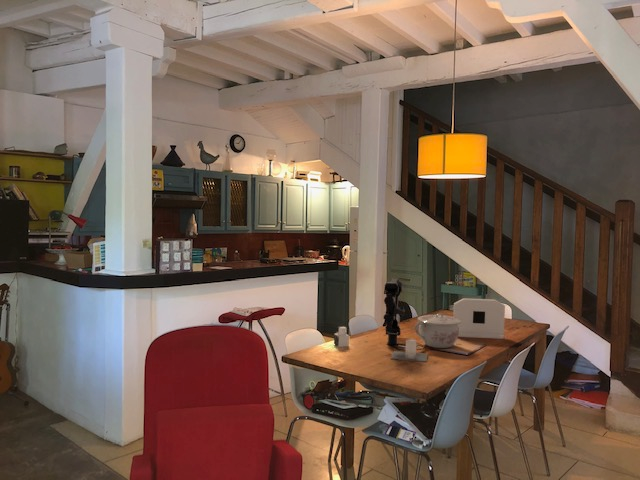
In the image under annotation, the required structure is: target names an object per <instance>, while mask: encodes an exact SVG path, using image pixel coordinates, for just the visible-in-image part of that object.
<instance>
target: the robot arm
mask: <svg viewBox="0 0 640 480" xmlns="http://www.w3.org/2000/svg"><path fill="white" fill-rule="evenodd" d="M403 289H404V288H403V283H402V282H401V281H400V279H399V278H391V279H390V281H386V283H385V284H384V291H383V294H384V295H386V296H385V298H384V299H383V302H384V303H383V304H385V314H384V315H383V320H385V322H386V325H385V335H386V336H387V342H386V345H387V346H398V345H397V342H398V336H401V335H402V334H401V327H400V325H399V321H398V315H399V316H400V317H404V315H405V313H406V309H405V308H404V306H401V307H399V306H398V305H399V299H400V297H401V296H402V293H403Z"/></svg>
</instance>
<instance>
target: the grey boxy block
mask: <svg viewBox="0 0 640 480" xmlns="http://www.w3.org/2000/svg"><path fill="white" fill-rule="evenodd" d="M505 313H506V305H505V304H504V303H502V302H500V301H498V300H497V299H493V298H492V299H487V298H468V297H467V298H464V297H463V298H462V299H460V300H457V301H456V302H454V303H453V316H452V317H455V318H458V319H460V320H461V321H462V322H461V323H460V324H458V327H459V335H458V338H459V337H460V338H480V339H501V340H502V339H503V340H504V337H505V336H504V335H505V317H506V314H505Z"/></svg>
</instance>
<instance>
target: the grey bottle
mask: <svg viewBox="0 0 640 480" xmlns="http://www.w3.org/2000/svg"><path fill="white" fill-rule="evenodd" d="M347 330H348V329H347V326H346V325H345V326H344V325H338V326H337V327H336V333H334V335H333V341H334V342H333V345H334V344H335V345H334V346H335V347H337V346H338V347H337V348H344V347H345V348H348V347H349V345H350V335H349V334H347Z"/></svg>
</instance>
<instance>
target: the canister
mask: <svg viewBox="0 0 640 480" xmlns="http://www.w3.org/2000/svg"><path fill="white" fill-rule="evenodd" d="M417 342H418V341H417V340H416V339H412V338H409V339H405V352H406V354H405V358H407V359H416V353H417Z"/></svg>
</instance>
